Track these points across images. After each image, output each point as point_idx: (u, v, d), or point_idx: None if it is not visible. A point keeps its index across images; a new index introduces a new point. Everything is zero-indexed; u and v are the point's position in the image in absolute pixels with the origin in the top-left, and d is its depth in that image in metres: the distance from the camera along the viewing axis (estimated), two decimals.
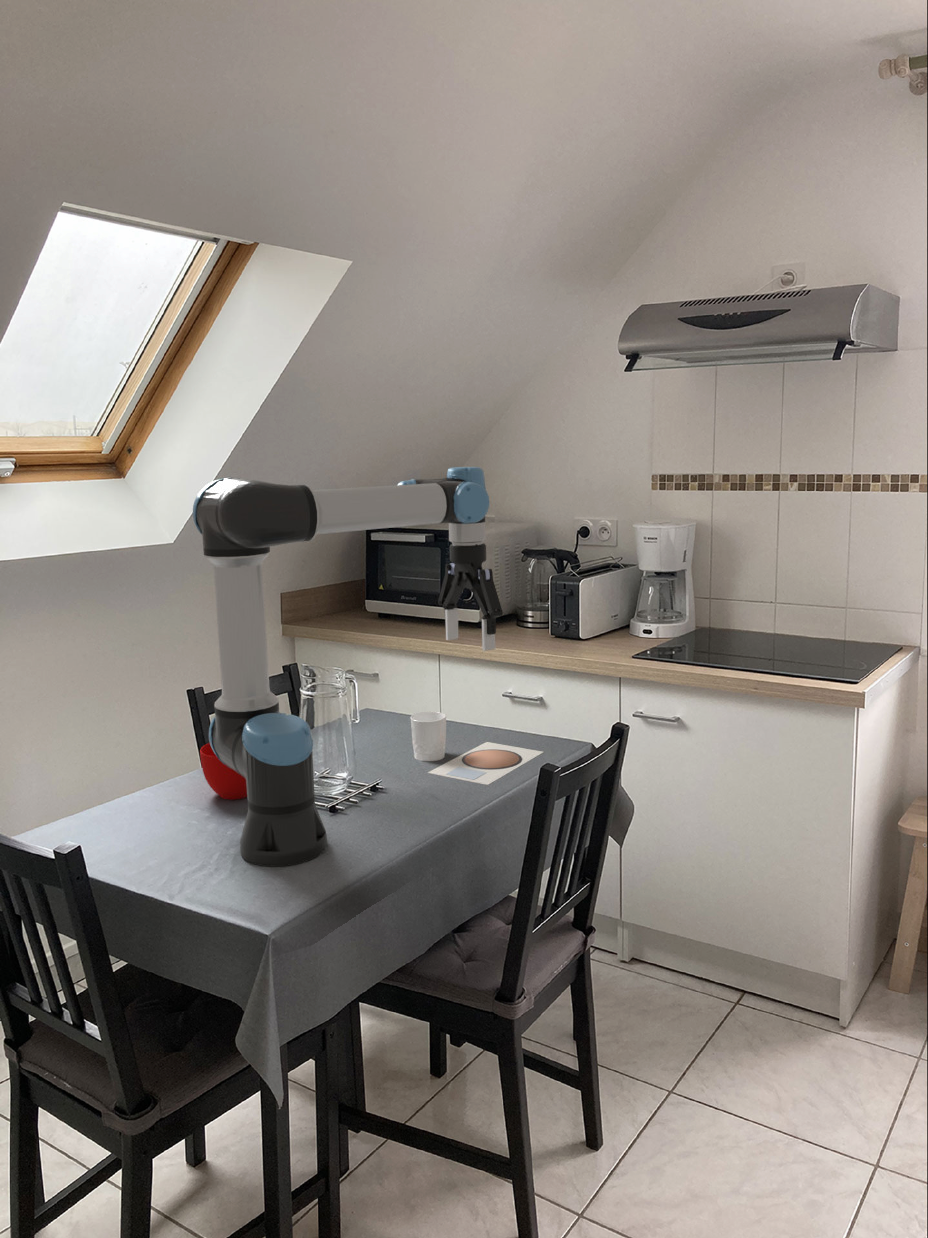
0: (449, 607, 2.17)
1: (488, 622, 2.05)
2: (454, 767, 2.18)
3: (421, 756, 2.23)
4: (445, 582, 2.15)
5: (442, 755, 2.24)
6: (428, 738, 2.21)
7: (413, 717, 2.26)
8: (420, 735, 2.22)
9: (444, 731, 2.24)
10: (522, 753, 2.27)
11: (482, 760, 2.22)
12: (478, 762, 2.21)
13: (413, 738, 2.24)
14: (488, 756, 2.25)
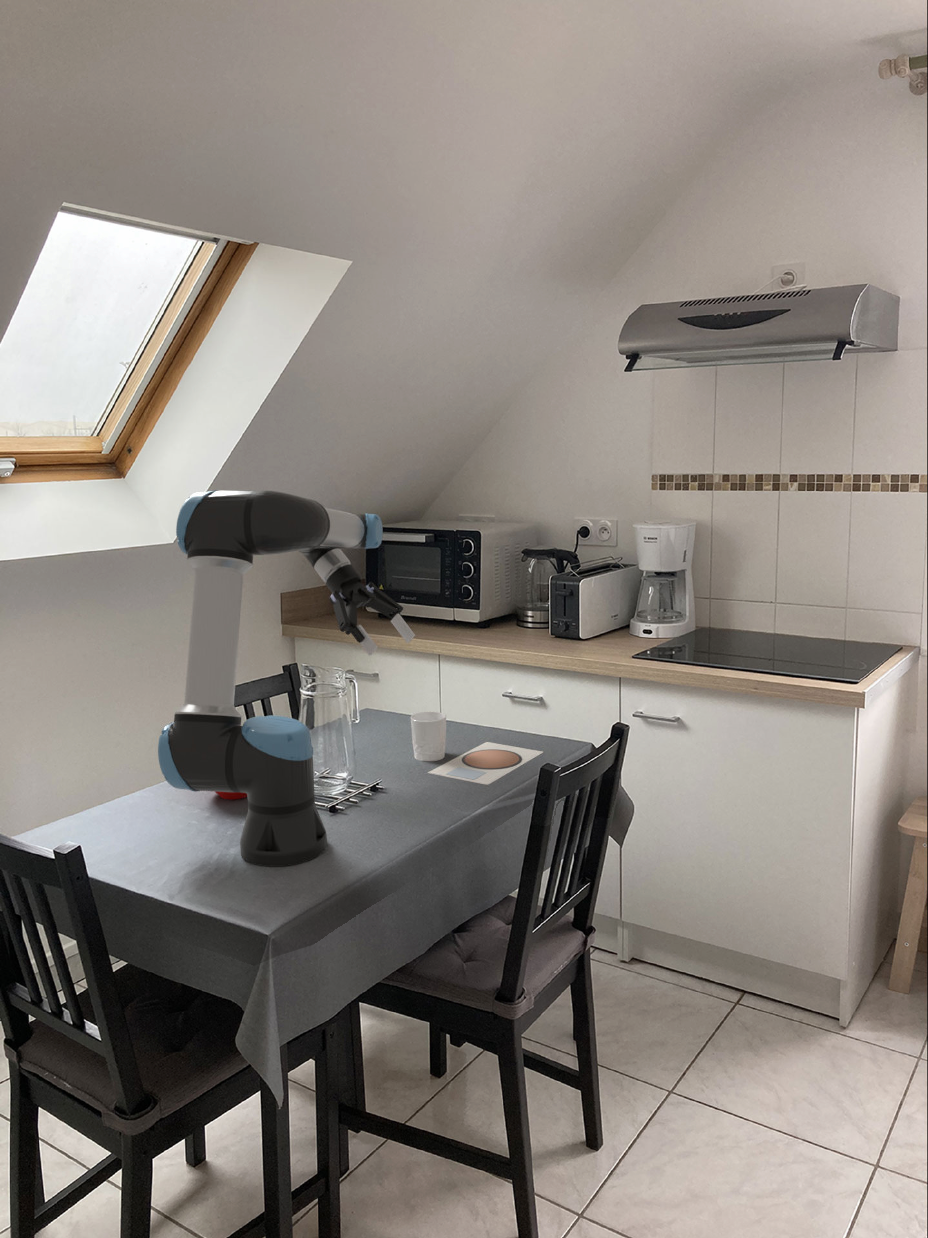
0: None
1: None
2: (454, 767, 2.18)
3: (421, 756, 2.23)
4: (344, 605, 2.23)
5: (442, 755, 2.24)
6: (428, 738, 2.21)
7: (413, 717, 2.26)
8: (420, 735, 2.22)
9: (444, 731, 2.24)
10: (522, 753, 2.27)
11: (482, 760, 2.22)
12: (478, 762, 2.21)
13: (413, 738, 2.24)
14: (488, 756, 2.25)
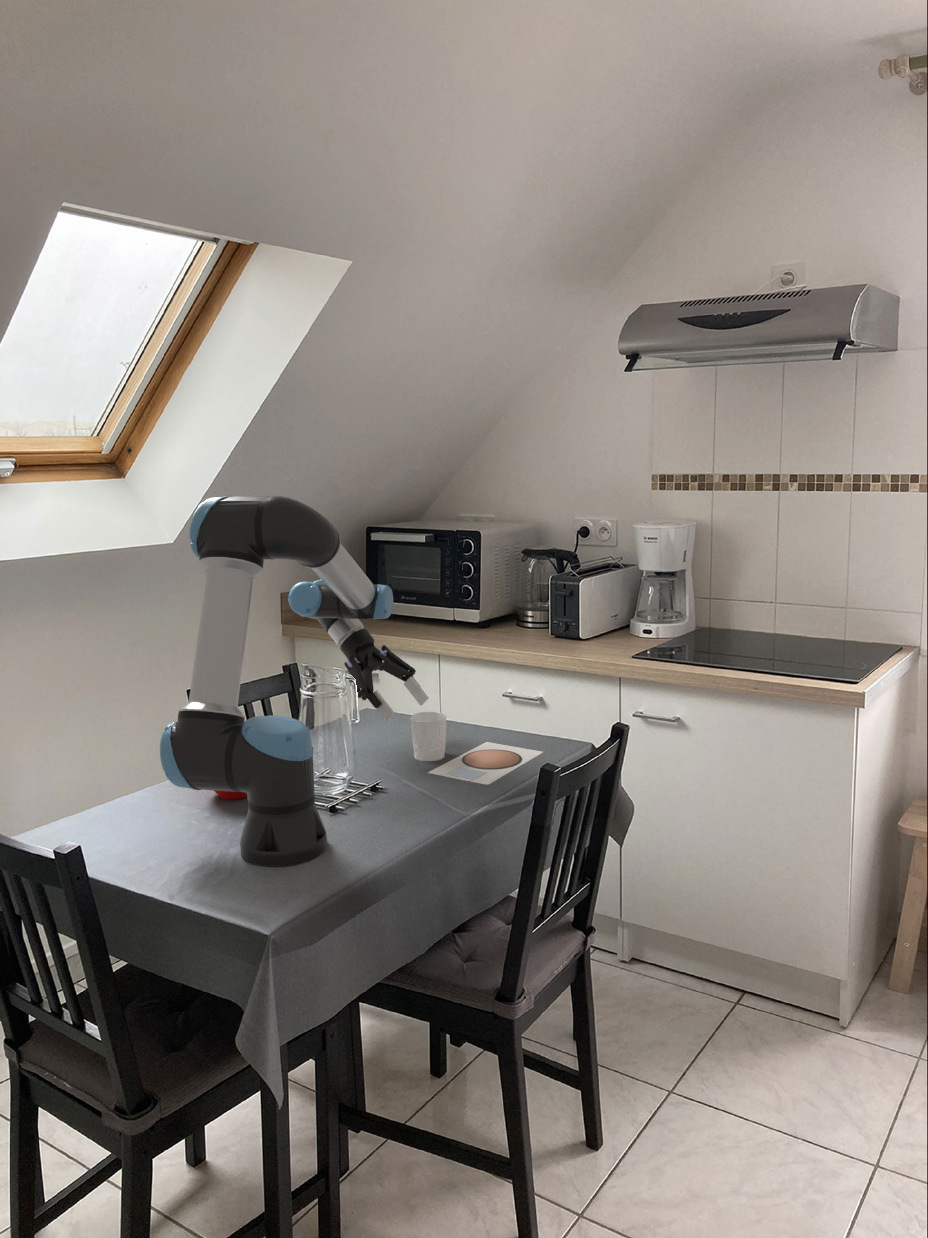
0: None
1: None
2: (454, 767, 2.18)
3: (421, 756, 2.23)
4: (360, 670, 2.25)
5: (442, 755, 2.24)
6: (428, 738, 2.21)
7: (413, 717, 2.26)
8: (420, 735, 2.22)
9: (444, 731, 2.24)
10: (522, 753, 2.27)
11: (482, 760, 2.22)
12: (478, 762, 2.21)
13: (413, 738, 2.24)
14: (488, 756, 2.25)
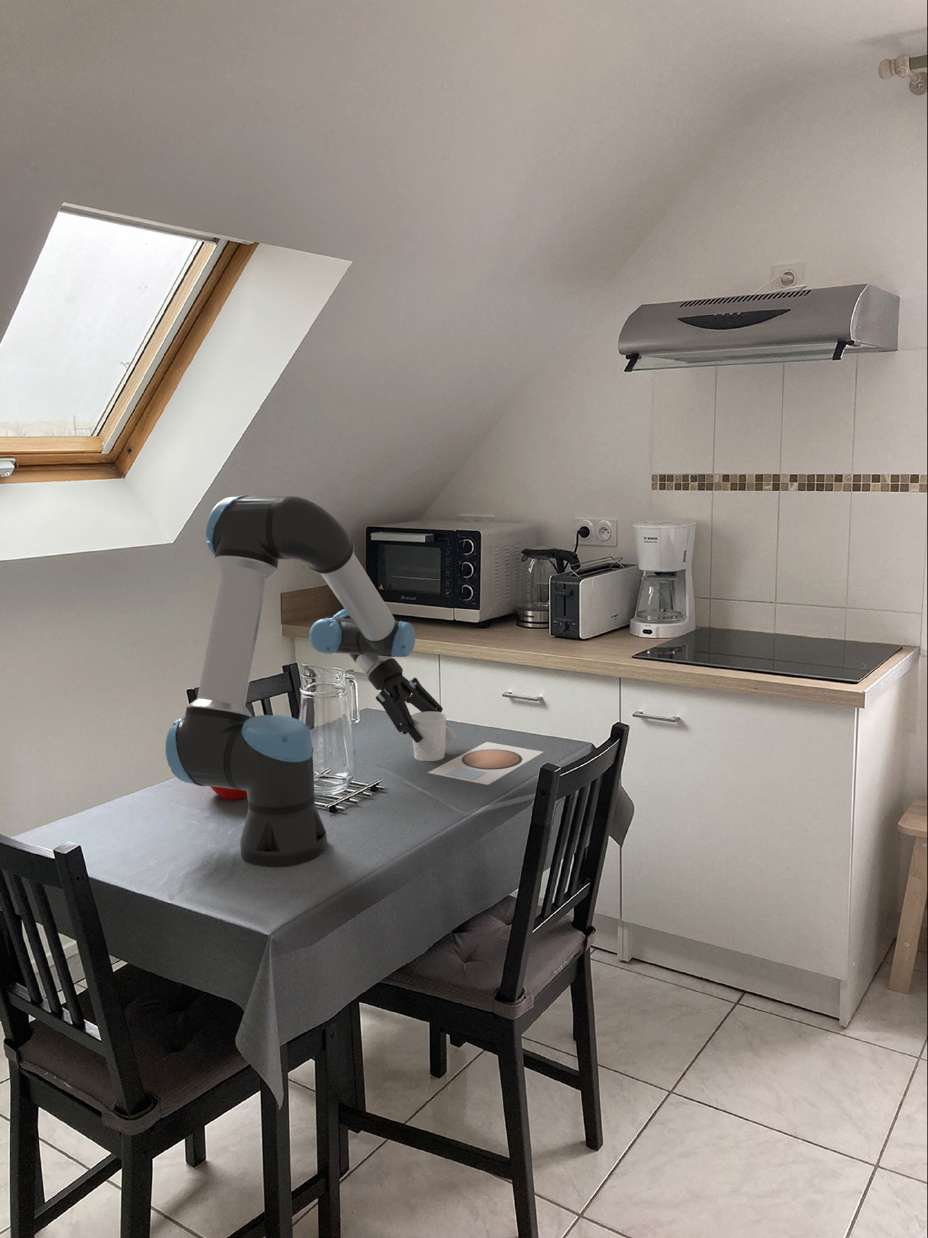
0: None
1: None
2: (454, 767, 2.18)
3: (421, 756, 2.23)
4: (394, 704, 2.22)
5: (442, 755, 2.24)
6: None
7: (413, 717, 2.26)
8: None
9: (444, 731, 2.23)
10: (522, 753, 2.27)
11: (482, 760, 2.22)
12: (478, 762, 2.21)
13: None
14: (488, 756, 2.25)
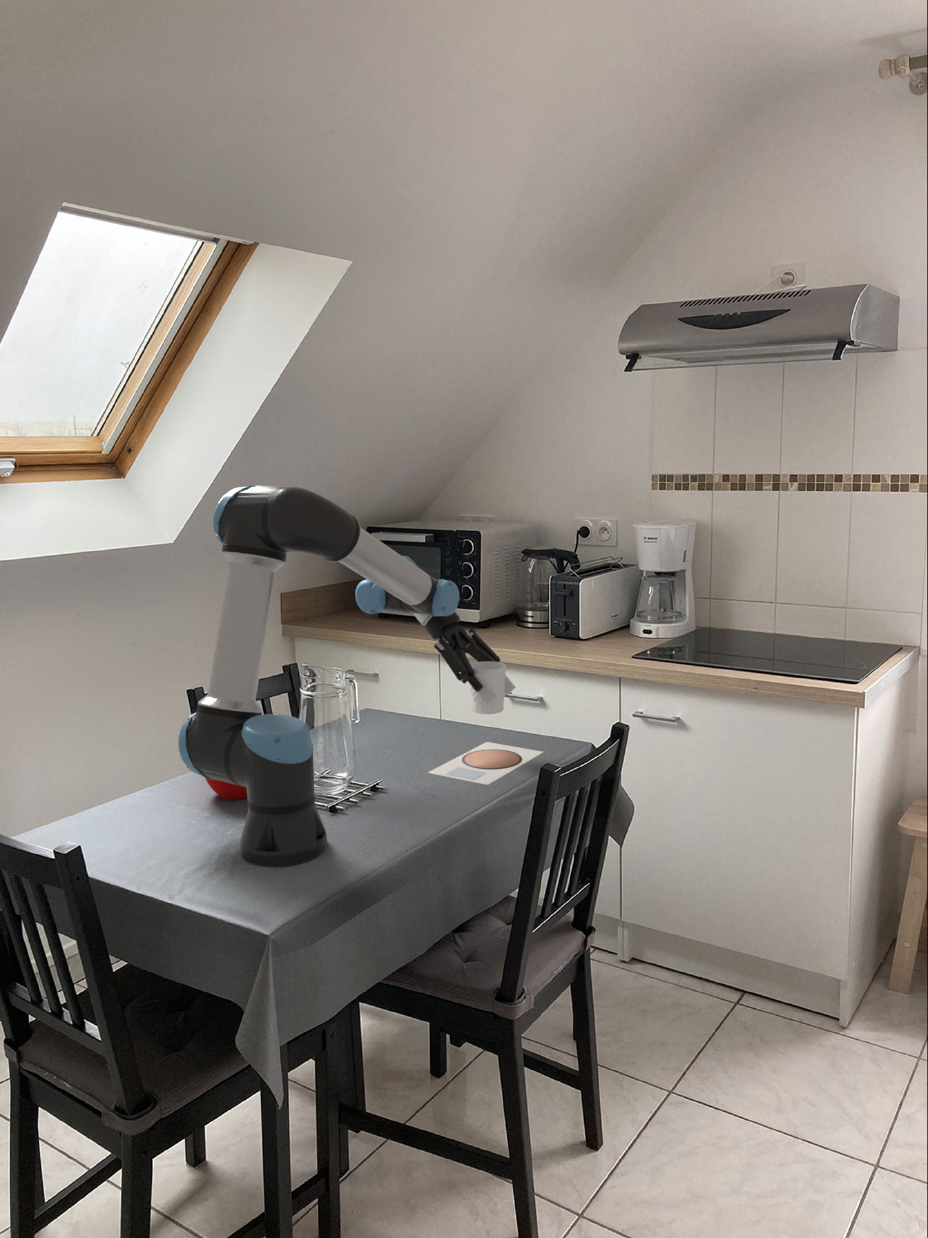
0: None
1: None
2: (454, 767, 2.18)
3: (480, 705, 2.18)
4: (454, 652, 2.16)
5: (501, 705, 2.19)
6: None
7: (471, 666, 2.21)
8: None
9: (504, 680, 2.18)
10: (522, 753, 2.27)
11: (482, 760, 2.22)
12: (478, 762, 2.21)
13: (472, 687, 2.19)
14: (488, 756, 2.25)
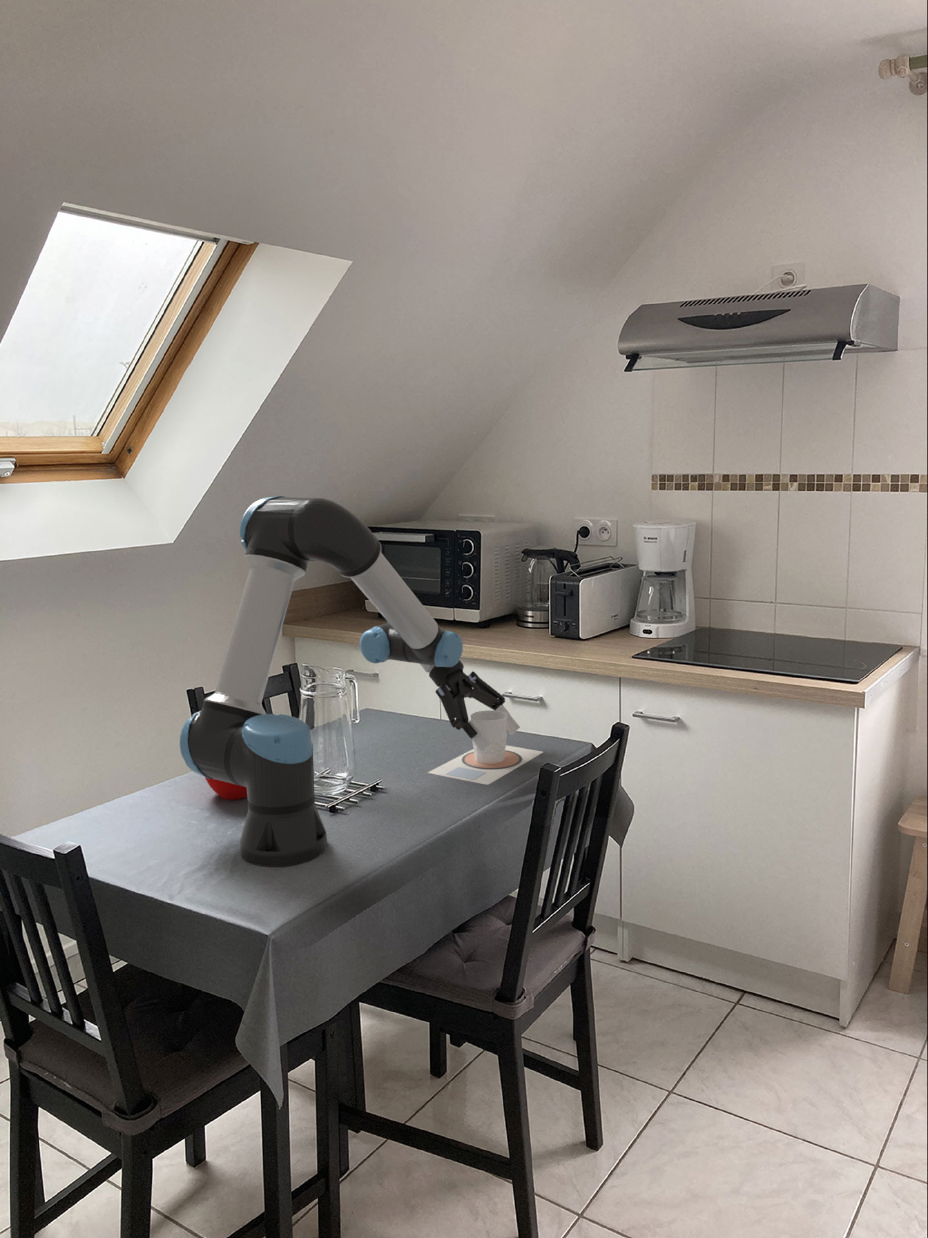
0: None
1: None
2: (454, 767, 2.18)
3: (482, 755, 2.19)
4: (453, 699, 2.18)
5: (503, 755, 2.21)
6: (489, 737, 2.18)
7: (473, 716, 2.22)
8: None
9: (505, 730, 2.20)
10: (522, 753, 2.27)
11: None
12: None
13: None
14: None
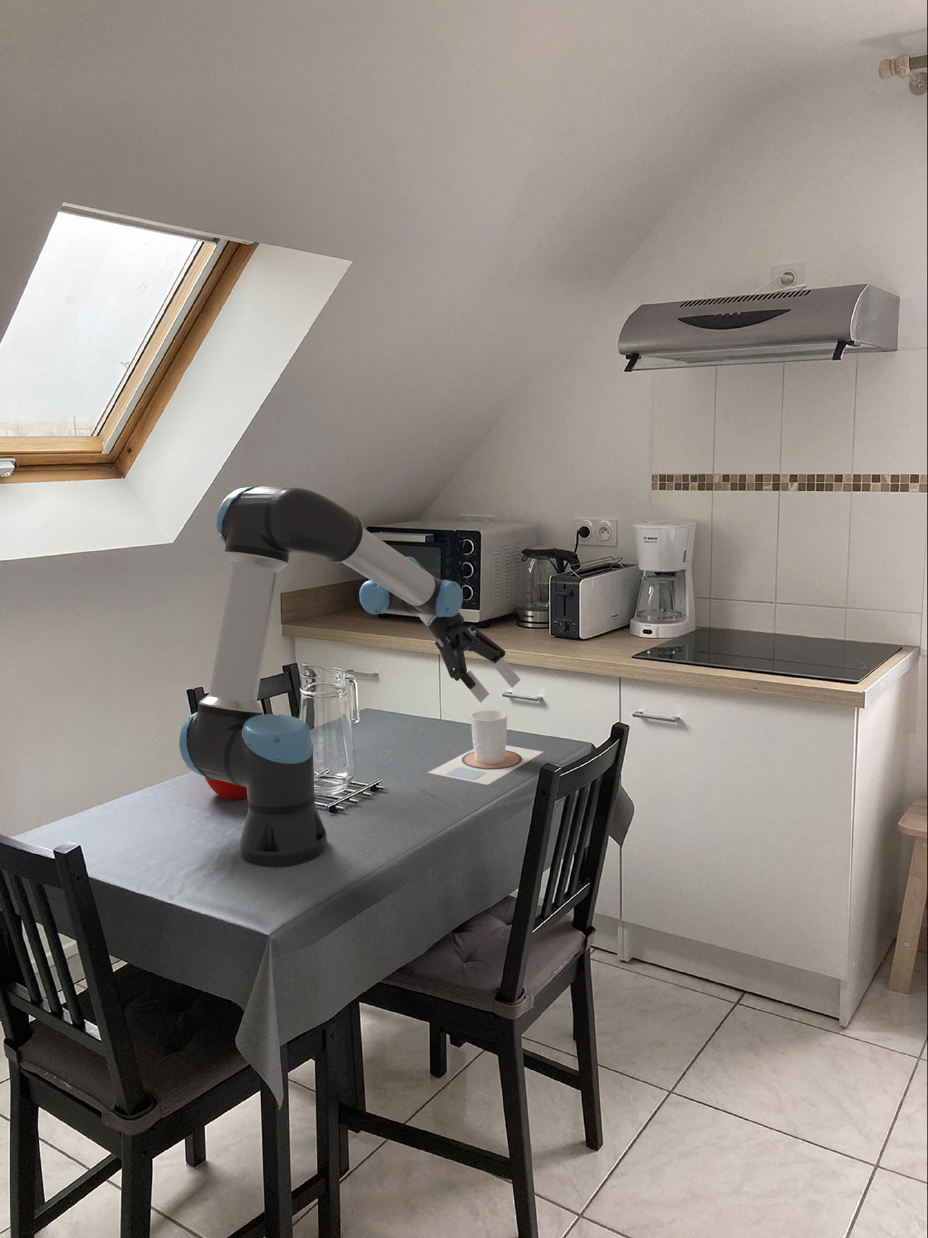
0: None
1: None
2: (454, 767, 2.18)
3: (482, 755, 2.19)
4: (452, 650, 2.16)
5: (503, 755, 2.21)
6: (489, 737, 2.18)
7: (473, 716, 2.22)
8: (481, 735, 2.18)
9: (505, 730, 2.20)
10: (522, 753, 2.27)
11: None
12: None
13: (474, 737, 2.20)
14: None
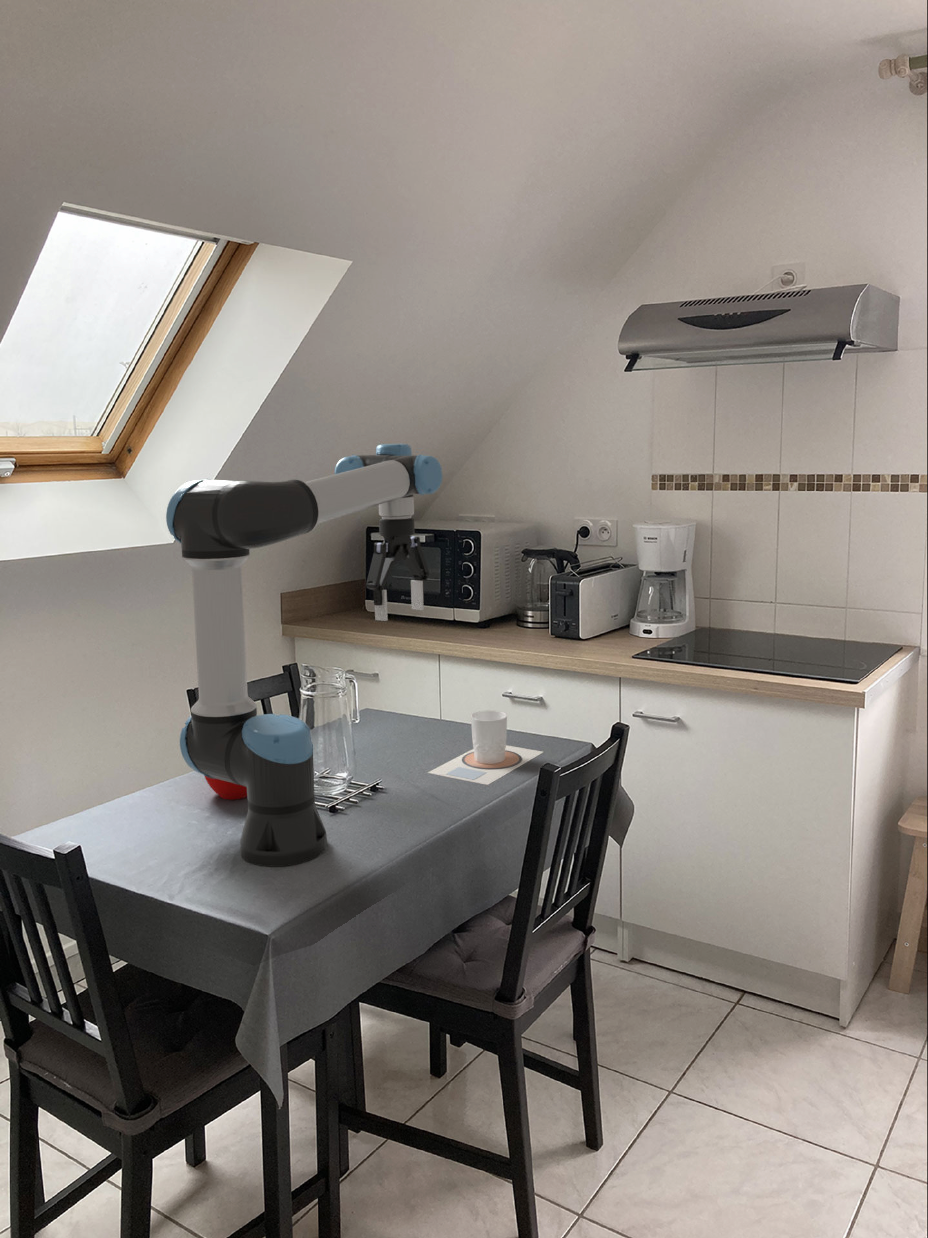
0: None
1: None
2: (454, 767, 2.18)
3: (482, 755, 2.19)
4: (383, 562, 2.13)
5: (503, 755, 2.21)
6: (489, 737, 2.18)
7: (473, 716, 2.22)
8: (481, 735, 2.18)
9: (505, 730, 2.20)
10: (522, 753, 2.27)
11: None
12: None
13: (473, 737, 2.20)
14: None
